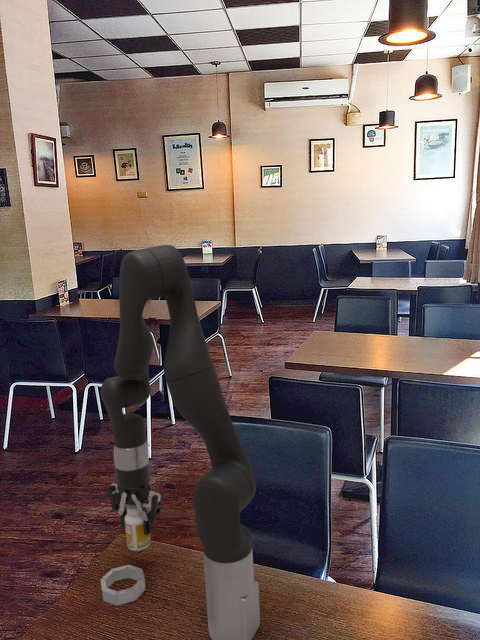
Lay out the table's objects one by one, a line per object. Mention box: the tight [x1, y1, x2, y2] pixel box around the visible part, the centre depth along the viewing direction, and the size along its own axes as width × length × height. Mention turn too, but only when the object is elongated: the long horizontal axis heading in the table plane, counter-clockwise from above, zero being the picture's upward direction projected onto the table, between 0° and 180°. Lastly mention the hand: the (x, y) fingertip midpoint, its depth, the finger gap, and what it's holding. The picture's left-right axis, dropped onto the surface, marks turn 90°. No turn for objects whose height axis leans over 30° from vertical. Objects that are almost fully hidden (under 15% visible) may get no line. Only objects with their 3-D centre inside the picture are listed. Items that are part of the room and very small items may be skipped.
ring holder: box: [100, 564, 146, 607], centre depth 111 cm, size 9×9×2 cm
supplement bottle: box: [125, 503, 152, 552], centre depth 117 cm, size 5×5×10 cm
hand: (137, 530), depth 117 cm, fingers closed on supplement bottle, 5 cm apart
